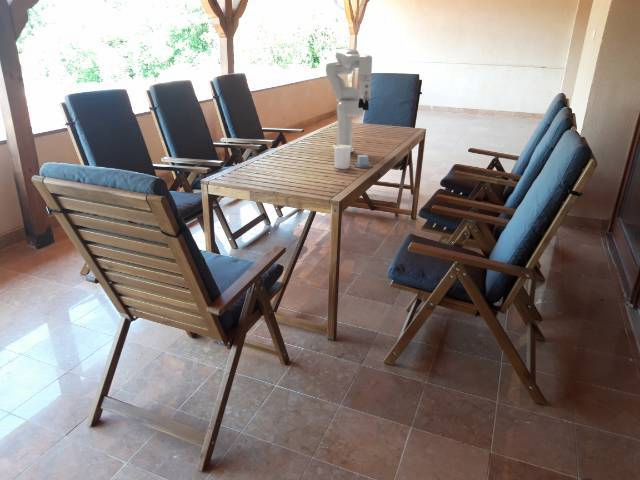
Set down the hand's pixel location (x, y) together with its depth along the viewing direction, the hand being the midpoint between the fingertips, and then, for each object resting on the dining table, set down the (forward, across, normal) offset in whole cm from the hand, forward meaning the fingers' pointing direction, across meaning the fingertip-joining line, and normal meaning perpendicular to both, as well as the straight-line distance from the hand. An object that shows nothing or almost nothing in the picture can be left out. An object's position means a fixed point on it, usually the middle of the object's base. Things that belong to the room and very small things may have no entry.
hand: (363, 108), depth 281 cm
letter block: (+30, -14, +3) cm, 33 cm away
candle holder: (+31, -16, +16) cm, 38 cm away
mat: (+30, -14, +3) cm, 34 cm away
